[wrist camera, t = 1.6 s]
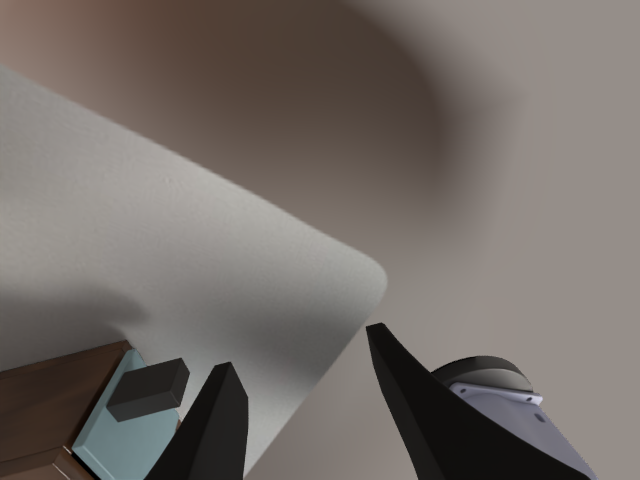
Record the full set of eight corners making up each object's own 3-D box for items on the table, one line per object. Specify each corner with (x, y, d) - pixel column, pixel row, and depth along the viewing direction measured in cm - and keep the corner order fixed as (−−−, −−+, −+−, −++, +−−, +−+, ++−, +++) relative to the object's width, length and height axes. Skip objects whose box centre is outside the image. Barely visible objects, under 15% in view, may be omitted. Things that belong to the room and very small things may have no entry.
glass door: (188, 334, 21) (155, 426, 15) (225, 403, 24) (210, 501, 18) (126, 350, 21) (70, 448, 15) (172, 417, 24) (139, 519, 18)
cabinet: (126, 339, 21) (52, 463, 14) (203, 455, 28) (177, 582, 20) (-18, 376, 21) (-167, 521, 14) (91, 484, 27) (27, 623, 20)
